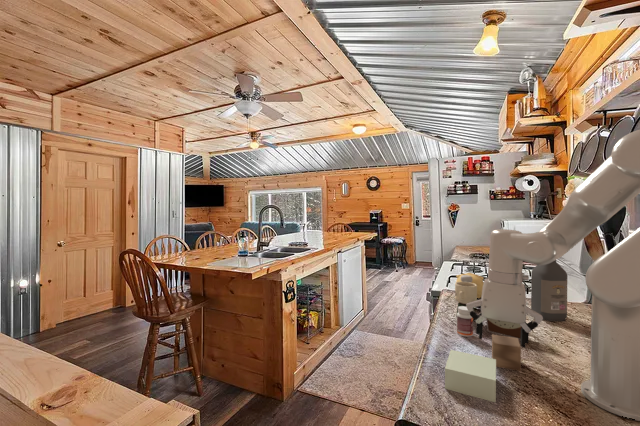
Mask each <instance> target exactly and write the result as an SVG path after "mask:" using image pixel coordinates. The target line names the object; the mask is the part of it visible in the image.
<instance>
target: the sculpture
mask: <svg viewBox="0 0 640 426" xmlns="http://www.w3.org/2000/svg"><path fill="white" fill-rule="evenodd" d="M462 275H469V276H471V277H472V279H473V281H472V282H471V283H474V284H476V285H477V298H478V299H481V296H482V289H483V284H484V280H485V277H483V276H481V275H479V274H476V273H475V274H474V273H472V272H466V273H460V274H456V275H455V277H456V281H455V283H456V282H462V281H461V276H462Z"/></svg>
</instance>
